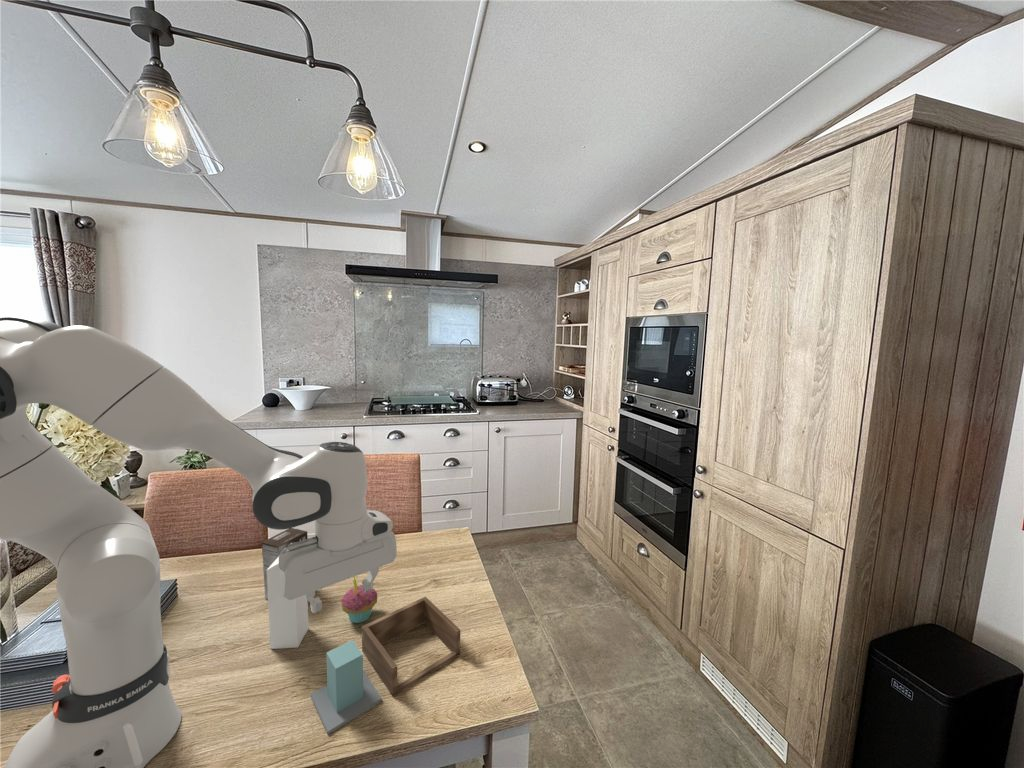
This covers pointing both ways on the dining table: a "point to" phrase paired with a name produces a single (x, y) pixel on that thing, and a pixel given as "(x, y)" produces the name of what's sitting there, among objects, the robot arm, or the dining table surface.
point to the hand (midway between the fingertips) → (343, 599)
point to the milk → (285, 613)
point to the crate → (398, 625)
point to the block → (344, 675)
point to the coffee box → (279, 548)
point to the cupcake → (358, 603)
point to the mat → (337, 720)
